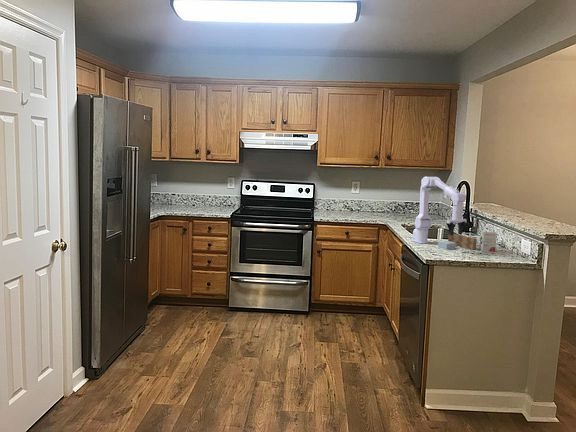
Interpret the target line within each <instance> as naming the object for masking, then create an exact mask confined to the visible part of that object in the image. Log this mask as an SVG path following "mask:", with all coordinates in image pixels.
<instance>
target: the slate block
mask: <svg viewBox="0 0 576 432" xmlns="http://www.w3.org/2000/svg"><path fill="white" fill-rule="evenodd" d="M438 247H439V248H438ZM456 247H457V246H456V243H454V242H450V241H448V240H441V241H437V248H438V249H442V248H443V249H442V250H446V251H447V249H448V250H456Z"/></svg>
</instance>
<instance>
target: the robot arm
mask: <svg viewBox="0 0 576 432" xmlns="http://www.w3.org/2000/svg"><path fill="white" fill-rule="evenodd" d="M420 184H421V185H420V190H419V191H420V193H419V213H418V215H416V216H415V221H414V227H415V228H414V229H413V231H412V239H411V242H415V243H418V244H430V243H431V241H428V236H429V229H430V228H431V226H432V221H431V215H429V198H430V191H431V190H432V189H433V188H436V187H437V188H439V189H441V190H442V191H444V194H445V195H447V196H448V197H449V198H451V200H452V212H451V213H452V214H451V216H452V217H451V219H447V220H446V226H447V228H448V235H449V234H450V235H453V234H454V231H455V228H456V224H457V228H458V231H457V233H458V235H462V236H463V232H464V229H465V228H466V226H467V218H463V212H464V211H463V209H464V202H465V201H466V200H467V195H466V194H465V193H464V192H460V190H459V189H458V190H457V189H456V188H455V187H454V186H453V185H449V186H448V185H447V184H446V183H445V182H443V181H442V180H441V178H440V177H438V176H423V178H421V181H420Z"/></svg>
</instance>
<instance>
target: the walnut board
mask: <svg viewBox="0 0 576 432" xmlns="http://www.w3.org/2000/svg"><path fill="white" fill-rule="evenodd" d="M447 241H450V242H454V243H456V247H458V246H459V248H462V247H463V249H466V248H467V250H471V251H476V250H477V242H478V241H477V238H476V237H470V236H466V235H463V234H462V235H461V234H457V233H453V235H450V234H449V233H448V236H447Z"/></svg>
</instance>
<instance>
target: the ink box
mask: <svg viewBox="0 0 576 432" xmlns="http://www.w3.org/2000/svg"><path fill="white" fill-rule="evenodd" d="M497 236H498V233H497V232H495V231H485V230H484V231H483V230H482V231H480V235H479V245H478V250H479V251H481V252H495V251H496V248H497Z"/></svg>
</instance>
